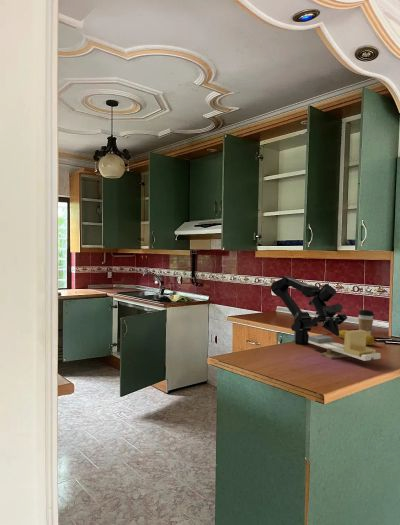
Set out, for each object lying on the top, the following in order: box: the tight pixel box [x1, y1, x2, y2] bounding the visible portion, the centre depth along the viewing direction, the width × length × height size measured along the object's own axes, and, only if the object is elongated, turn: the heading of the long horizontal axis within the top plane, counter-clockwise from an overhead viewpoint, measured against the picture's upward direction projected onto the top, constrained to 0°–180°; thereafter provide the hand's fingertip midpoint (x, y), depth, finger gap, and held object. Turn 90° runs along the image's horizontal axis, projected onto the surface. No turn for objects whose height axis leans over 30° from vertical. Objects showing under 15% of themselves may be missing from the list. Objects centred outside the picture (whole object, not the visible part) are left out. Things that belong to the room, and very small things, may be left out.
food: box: [338, 329, 375, 346], centre depth 204 cm, size 21×6×6 cm, turn 32°
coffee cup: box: [357, 309, 375, 336], centre depth 219 cm, size 8×8×15 cm
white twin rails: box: [308, 334, 382, 362], centre depth 173 cm, size 32×10×3 cm, turn 28°
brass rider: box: [343, 329, 377, 357], centre depth 164 cm, size 8×10×10 cm
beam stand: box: [320, 348, 349, 360], centre depth 174 cm, size 6×16×4 cm, turn 118°
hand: (338, 335), depth 175 cm, fingers closed
